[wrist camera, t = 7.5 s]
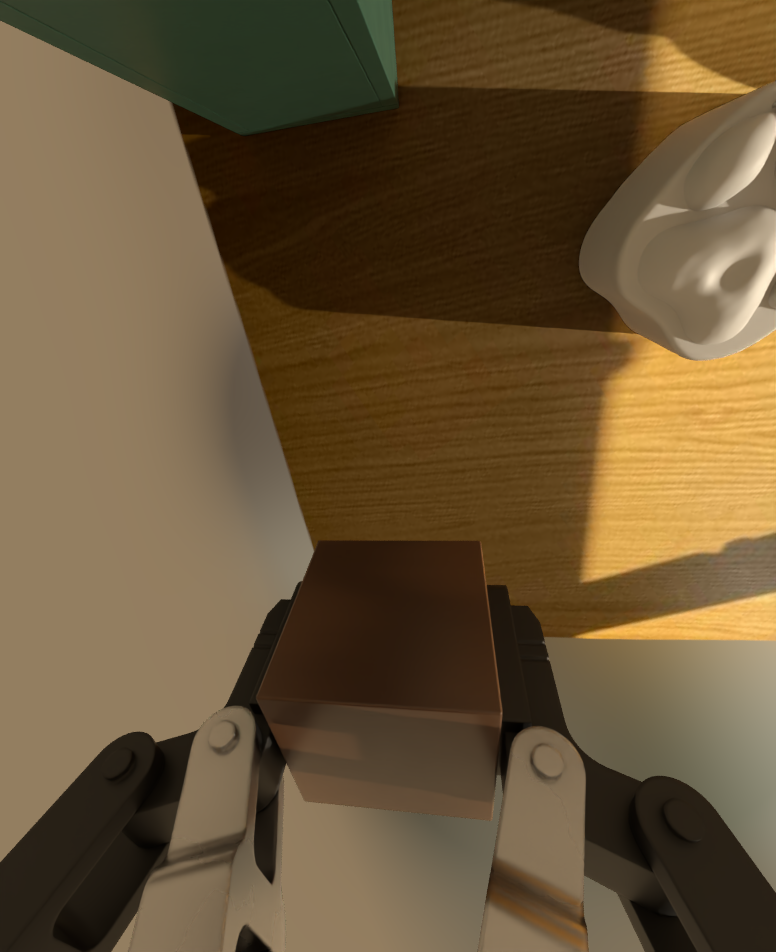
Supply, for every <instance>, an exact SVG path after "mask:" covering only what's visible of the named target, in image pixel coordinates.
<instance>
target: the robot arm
mask: <svg viewBox="0 0 776 952" xmlns="http://www.w3.org/2000/svg"><path fill="white" fill-rule="evenodd" d="M301 583H302V581H301V582H299V583H298V584H297V586H296V589H295V591H294V593H293V596H292V598H291V600H282V599H281V600H280V601H279V602H278V603H277V604H276V605H275V607H274V608H273V609H272V610H271V611H270V612H269V613H268V614H267V617H266V619H265V621H264V624H263V626H262V628H261V630H260V634H258V637H257V639H256V641H255V643H254V648H252V650H251V652H250V654H249V656H248V658H247V661H246V663H245V665H244V667H243V669H242V672H241V674H240V676H239V678H238V681H237V683H236V685H235V687H234V690H233V691H232V694H231V696H230V698H229V700H228V702H227V704H226V706H225V707H224V708H223V709H221V710H219V711H218V712H216V713H214V714H213V715H212V716H210V717H209V718H208V719H207V720H206V721H205V722H204V723H203V725H202V726H201V727H200V728H199V729H198V730H197V731H194V732H191V733H188V734H185V735H181V736H178V737H174V738H171V739H167V740H164V741H160V742H157V743H156V742H155V741H154V739H153V738H152V737H151V736H150V735H149V734H147V733H144V732H132V733H128V734H126V735H123V736H122V737H119V738H118V739H116V740H115V741H113V742H112V743H110V744H109V745H108V746H107V747H106V748H104V749H103V750H102V751H101V752H100V754H98V756H97V757H96V758H95V759H94V760H93V761H92V762H91V763H90V764H89V766H88V767H87V768H86V769H85V770H84V771H83V772H82V773H81V774H80V775H79V777H78V778H77V779H76V780H75V781H74V782H73V783H72V784H71V785H70V786H69V787H68V789H67V790H66V791H65V792H64V793H63V794H62V795H61V796H60V797H59V799H58V800H57V801H56V802H55V803H54V804H53V805H52V806H51V807H50V808H49V809H48V811H47V812H46V813H45V814H44V815H43V816H42V817H41V818H40V819H39V820H38V822H37V823H36V824H35V825H34V826H33V827H32V828H31V829H30V831H28V832H27V834H26V835H25V836H24V837H23V838H22V839H21V840H20V841H19V842H18V843H17V845H16V846H15V847H14V848H13V849H12V850H11V851H10V853H8V854H7V856H6V857H5V858H4V859H3V860H2V861H1V862H0V952H111V951H112V950H113V948H114V947H115V945H116V944H117V942H118V940H119V939H120V937H121V936H122V934H123V933H124V931H125V930H126V928H127V927H128V925H129V923H130V922H131V920H132V919H133V917H134V916H135V914H136V913H137V911H138V913H137V917H136V921H135V926H134V930H133V934H132V938H131V942H130V946H129V950H128V952H285V948H286V947H285V946H286V920H285V909H284V901H283V897H282V888H281V865H282V834H283V804H284V778H283V772H284V769H285V765H286V761H285V759H284V757H283V755H282V752H281V750H280V748H279V746H278V744H277V742H276V740H275V738H274V736H273V733H272V731H271V729H270V727H269V725H268V723H267V721H266V719H265V716H264V714H263V712H262V710H261V708H260V706H259V704H258V702H257V700H256V696H257V694H258V691H259V689H260V686H261V684H262V681H263V679H264V676H265V674H266V671H267V669H268V666H269V664H270V661H271V659H272V656H273V654H274V651H275V648H276V646H277V643H278V641H279V638H280V636H281V633H282V631H283V628H284V626H285V623H286V621H287V618H288V616H289V613H290V611H291V608H292V606H293V603H294V601H295V598H296V596H297V593H298V591H299V588H300V586H301ZM487 593H488V601H489V609H490V617H491V625H492V633H493V641H494V649H495V657H496V664H497V672H498V680H499V688H500V696H501V704H502V712H503V714H502V725H501V735H500V745H499V756H498V766H497V775H501V780H502V789H503V800H502V805H501V812H500V818H499V824H498V831H497V837H496V843H495V849H494V855H493V862H492V867H491V873H490V878H489V884H488V889H487V896H486V901H485V907H484V914H483V920H482V926H481V932H480V938H479V945H478V951H477V952H589V948H588V933H587V926H586V923H585V919H584V908H583V907H584V905H583V904H584V903H583V899H584V876H586V877H589V878H590V879H592V880H594V881H596V882H598V883H600V884H601V885H603V886H605V887H607V888H609V889H611V890H613V891H614V892H616V893H617V894H618V896H619V898H620V900H621V902H622V905H623V907H624V909H625V911H626V913H627V915H628V917H629V919H630V921H631V923H632V925H633V928H634V930H635V932H636V934H637V936H638V938H639V940H640V942H641V944H642V946H643V948H644V951H645V952H776V893H775V891H774V890H773V888H772V887H771V886H770V884H769V883H768V882H767V880H766V879H765V877H764V876H763V875H762V873H761V872H760V871H759V869H758V868H757V867H756V865H755V864H754V862H753V861H752V859H751V858H750V857H749V855H748V854H747V853H746V851H745V850H744V849H743V847H742V846H741V844H740V843H739V842H738V840H737V839H736V837H735V836H734V835H733V833H732V832H731V830H730V829H729V828H728V826H727V825H726V824H725V822H724V821H723V820H722V818H721V817H720V815H719V814H718V813H717V811H716V810H715V809H714V807H713V806H712V805H711V804H710V803H709V802H708V801H707V800H706V799H705V798H704V797H703V796H702V795H701V794H700V793H698V792H697V791H696V790H695V789H693V788H692V787H690V786H689V785H687V784H685V783H683V782H681V781H679V780H677V779H674V778H671V777H666V776H654V777H650V778H648V779H646V780H645V781H643V782H641V781H638V780H636V779H633V778H631V777H629V776H626V775H624V774H622V773H619V772H617V771H614V770H612V769H609V768H607V767H605V766H603V765H601V764H599V763H598V762H596V761H595V760H593V759H592V758H590V757H589V756H588V755H587V754H585V753H584V752H583V751H582V750H581V749H580V748H579V746H578V745H577V744H576V743H575V741H574V740H573V738H572V737H571V735H570V733H569V731H568V729H567V726H566V723H565V720H564V716H563V712H562V708H561V704H560V700H559V696H558V692H557V688H556V684H555V681H554V676H553V672H552V669H551V664H550V661H549V657H548V653H547V649H546V645H545V641H544V637H543V633H542V629H541V625H540V622H539V621H538V619H537V618H536V617H535V615H534V614H533V612H532V611H531V610H530V608H529V607H528V606H511V605H510V600H509V595H508V589H507V586H506V585H487Z"/></svg>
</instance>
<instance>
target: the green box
mask: <svg viewBox="0 0 776 952" xmlns="http://www.w3.org/2000/svg"><path fill="white" fill-rule="evenodd" d="M0 21H3V22H5V23H7V24H9V25H11V26H13V27H15V28H18V29H19V30H21V31H23V32H26V33H28V34H30V35H32V36H34V37H36V38H38V39H41V40H42V41H45V42H47V43H49V44H51V45H53V46H55V47H57V48H59V49H61V50H64V51H65V52H68V53H70V54H72V55H74V56H76V57H78V58H80V59H82V60H84V61H86V62H89V63H91V64H93V65H95V66H97V67H99V68H101V69H103V70H105V71H107V72H110V73H112V74H114V75H116V76H118V77H120V78H122V79H124V80H126V81H128V82H131V83H133V84H135V85H137V86H139V87H141V88H143V89H145V90H147V91H149V92H152V93H154V94H156V95H158V96H160V97H162V98H164V99H166V100H168V101H170V102H172V103H175V104H177V105H179V106H181V107H183V108H185V109H187V110H189V111H191V112H193V113H196V114H198V115H200V116H202V117H204V118H206V119H208V120H210V121H212V122H214V123H217V124H219V125H221V126H223V127H225V128H227V129H229V130H231V131H233V132H235V133H238V134H240V135H242V136H247V135H252V134H258V133H263V132H269V131H274V130H280V129H285V128H291V127H297V126H302V125H308V124H313V123H319V122H324V121H330V120H335V119H341V118H346V117H352V116H357V115H363V114H368V113H374V112H379V111H385V110H390V109H396V108H399V99H398V84H397V70H396V56H395V42H394V27H393V13H392V0H0Z"/></svg>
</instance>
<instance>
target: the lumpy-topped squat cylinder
mask: <svg viewBox="0 0 776 952" xmlns="http://www.w3.org/2000/svg"><path fill="white" fill-rule="evenodd" d="M579 270H580V274H581V277H582V279H583V281H584V282H585V283H586V284H587V285H588V286H589V287H590V288H591V289H592V290H594V291H595V292H596V293H598V294H600V295H601V296H603V297H604V298H605V299H607V300H608V301H609V302H610V303H611V304H612V305H613V306H614V308H615V309H616V310H617V312H618V313H619V315H620V317H621V318H622V320H623V321H624V323H625V324H626V325H627V326H628V327H629V328H630V329H631V330H632V331H634V332H636V333H638V334H640V335H642V336H644V337H645V338H647V339H649V340H651V341H653V342H655V343H657V344H659V345H660V346H662V347H664V348H666V349H668V350H670V351H671V352H674V353H676V354H678V355H679V356H681V357H683V358H686V359H690V360H699V361H701V360H712V359H717V358H722V357H726V356H729V355H732V354H735V353H737V352H739V351H742V350H744V349H746V348H748V347H749V346H752V345H753V344H755V343H757V342H758V341H760V340H761V339H763V338H764V337H766V336H767V335H769V334H770V333H772V332H773V331H775V330H776V80H775V81H773V82H771V83H769V84H767V85H765V86H763V87H760V88H758V89H756V90H754V91H752V92H750V93H747V94H745V95H743V96H741V97H739V98H737V99H735V100H732V101H730V102H728V103H726V104H724V105H722V106H720V107H717V108H715V109H713V110H711V111H709V112H707V113H705V114H702V115H700V116H698V117H696V118H694V119H692V120H691V121H689V122H687V123H685V124H683V125H682V126H680V127H679V128H677V129H676V130H675V131H674V132H672V133H671V134H670V135H669V136H668V137H667V138H666V139H665V140H664V141H662V142H661V143H660V144H659V145H658V146H657V147H656V148H655V149H654V150H653V151H652V152H651V153H650V154H649V155H648V156H647V157H646V159H645V160H644V161H643V162H642V163H641V164H640V165H639V166H638V167H637V168H636V169H635V170H634V171H633V173H632V174H631V175H630V176H629V177H628V178H627V179H626V180H625V182H624V183H623V184H622V185H621V186H620V187H619V189H618V190H617V191H616V192H615V194H614V195H613V196H612V198H611V199H610V200H609V202H608V203H607V204H606V205H605V207H604V208H603V209H602V210H601V212H600V213H599V214H598V216H597V217H596V219H595V220H594V221H593V223H592V225H591V226H590V228H589V230H588V232H587V234H586V236H585V238H584V241H583V243H582V247H581V251H580V256H579Z"/></svg>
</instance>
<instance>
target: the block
mask: <svg viewBox="0 0 776 952" xmlns="http://www.w3.org/2000/svg"><path fill="white" fill-rule="evenodd" d="M256 700H257V702H258V704H259V706H260V708H261V710H262V712H263V714H264V716H265V719H266V721H267V723H268V725H269V727H270V729H271V731H272V733H273V736H274V738H275V740H276V742H277V744H278V746H279V748H280V750H281V752H282V755H283V757H284V759H285V761H286V763H287V765H288V767H289V769H290V771H291V773H292V776H293V778H294V780H295V782H296V784H297V786H298V788H299V790H300V793H301V795H302V797H303V799H304V801H308V802H316V803H327V804H335V805H345V806H355V807H364V808H374V809H384V810H393V811H403V812H412V813H422V814H432V815H442V816H451V817H461V818H470V819H480V820H489V821H491V820H492V818H493V808H494V797H495V787H496V776H497V766H498V756H499V745H500V735H501V725H502V714H503V712H502V704H501V696H500V688H499V680H498V672H497V664H496V657H495V649H494V641H493V633H492V625H491V617H490V609H489V601H488V593H487V585H486V578H485V570H484V562H483V554H482V546H481V542H480V541H318V543H317V546H316V548H315V551H314V553H313V556H312V559H311V561H310V563H309V566H308V568H307V571H306V574H305V576H304V578H303V581H302V583H301V586H300V588H299V591H298V593H297V596H296V598H295V601H294V603H293V606H292V608H291V611H290V613H289V616H288V618H287V621H286V623H285V626H284V628H283V631H282V633H281V636H280V638H279V641H278V643H277V646H276V648H275V651H274V654H273V656H272V659H271V661H270V664H269V666H268V669H267V671H266V674H265V676H264V679H263V681H262V684H261V686H260V689H259V691H258V694H257V696H256Z"/></svg>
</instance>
